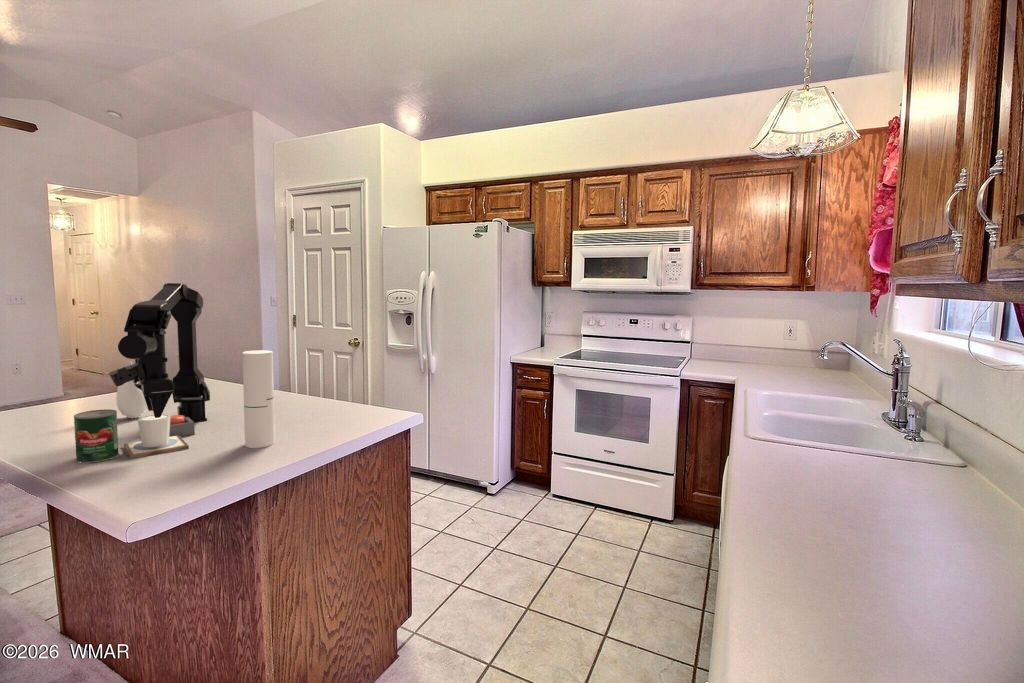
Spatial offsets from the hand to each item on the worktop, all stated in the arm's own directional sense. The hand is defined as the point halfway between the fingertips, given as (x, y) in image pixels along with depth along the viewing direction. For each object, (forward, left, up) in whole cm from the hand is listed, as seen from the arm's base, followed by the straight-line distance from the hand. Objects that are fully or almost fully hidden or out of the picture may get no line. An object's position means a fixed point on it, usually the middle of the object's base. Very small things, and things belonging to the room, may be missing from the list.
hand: (154, 414), depth 125 cm
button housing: (-6, -11, -9) cm, 15 cm away
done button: (-6, -11, -6) cm, 14 cm away
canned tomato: (+11, 0, -9) cm, 15 cm away
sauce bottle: (0, -38, -9) cm, 39 cm away
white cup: (0, 0, -8) cm, 8 cm away
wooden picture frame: (0, 0, -9) cm, 9 cm away
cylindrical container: (-21, +13, -9) cm, 26 cm away
